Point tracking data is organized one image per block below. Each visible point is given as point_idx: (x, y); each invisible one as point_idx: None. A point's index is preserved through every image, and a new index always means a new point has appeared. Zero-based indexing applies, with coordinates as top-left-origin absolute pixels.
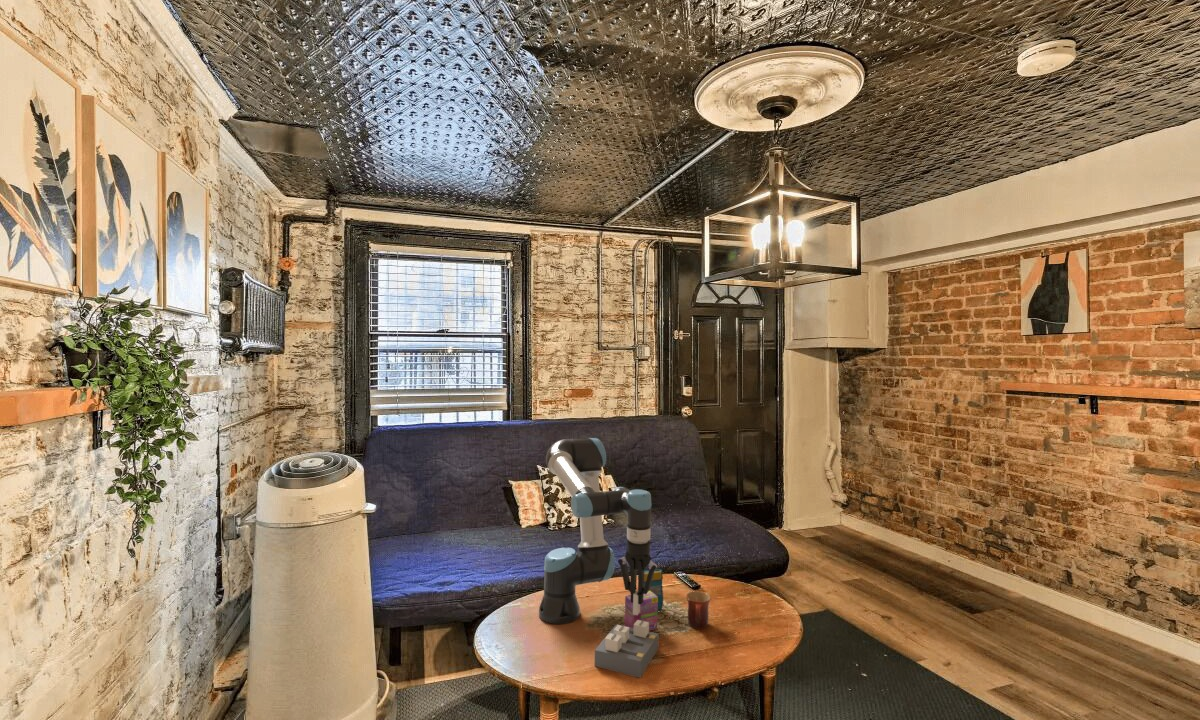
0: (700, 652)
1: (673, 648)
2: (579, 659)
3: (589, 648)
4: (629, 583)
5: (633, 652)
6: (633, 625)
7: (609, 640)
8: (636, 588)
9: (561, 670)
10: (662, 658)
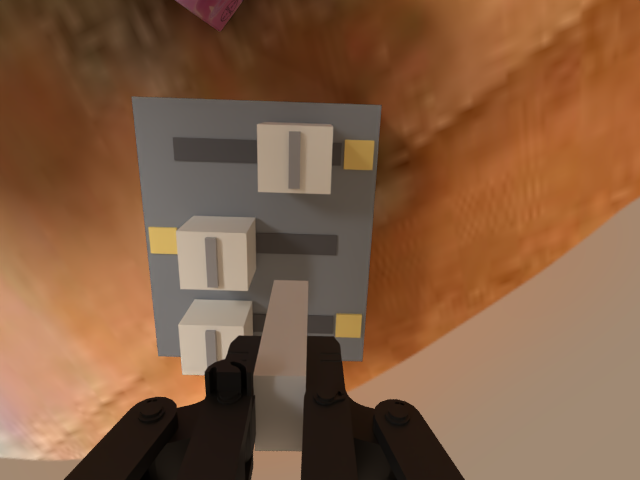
0: (564, 54)
1: (437, 71)
2: (109, 306)
3: (99, 223)
4: (148, 454)
5: (315, 316)
6: (211, 19)
7: (204, 371)
8: (249, 385)
9: (93, 383)
10: (405, 174)
